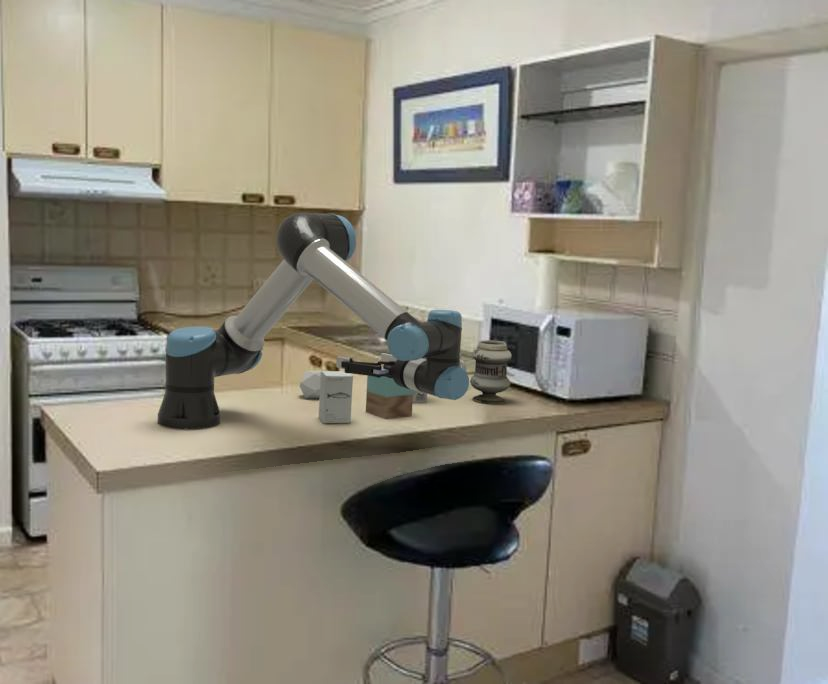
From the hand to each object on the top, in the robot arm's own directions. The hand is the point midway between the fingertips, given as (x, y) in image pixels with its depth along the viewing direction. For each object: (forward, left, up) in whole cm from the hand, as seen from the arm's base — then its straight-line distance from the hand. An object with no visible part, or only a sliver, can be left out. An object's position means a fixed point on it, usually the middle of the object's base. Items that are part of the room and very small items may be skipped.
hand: (360, 359), depth 220 cm
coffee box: (+36, +22, -18) cm, 46 cm away
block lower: (+18, +10, -18) cm, 27 cm away
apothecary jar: (+57, +11, -18) cm, 61 cm away
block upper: (+18, +10, -12) cm, 24 cm away
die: (+11, +37, -18) cm, 42 cm away
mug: (+61, +33, -18) cm, 72 cm away
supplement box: (0, +10, -18) cm, 20 cm away
